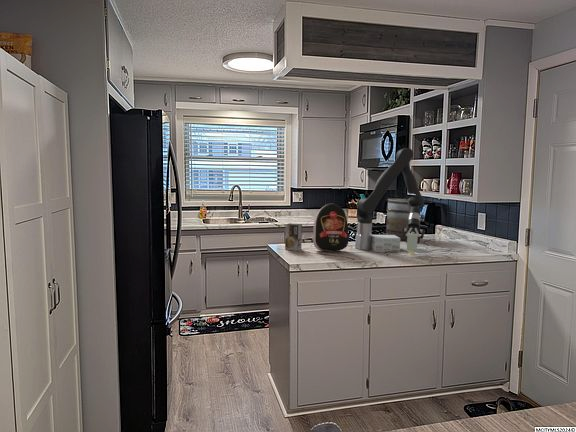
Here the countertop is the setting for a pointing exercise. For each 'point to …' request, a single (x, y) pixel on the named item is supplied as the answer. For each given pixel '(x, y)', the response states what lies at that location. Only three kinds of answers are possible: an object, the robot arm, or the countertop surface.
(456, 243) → the countertop surface
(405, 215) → the barrel
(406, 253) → the butter plate
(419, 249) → the mat
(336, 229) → the packaged food
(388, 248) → the supplement box
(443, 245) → the countertop surface
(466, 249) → the countertop surface
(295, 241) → the coffee box
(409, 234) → the grey rectangular block
